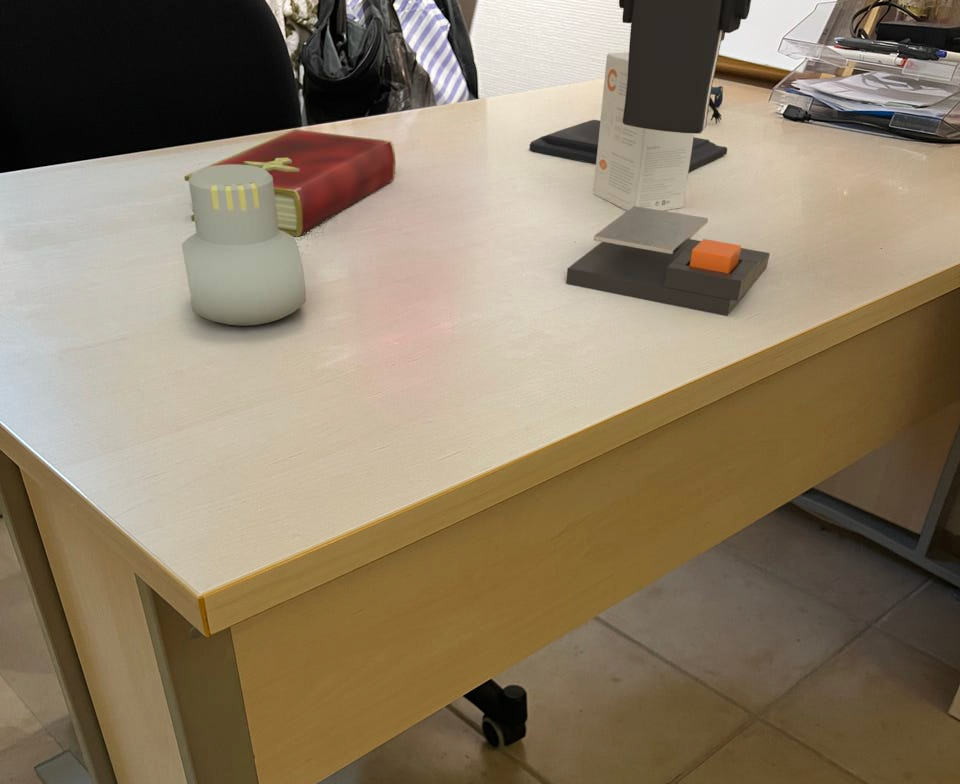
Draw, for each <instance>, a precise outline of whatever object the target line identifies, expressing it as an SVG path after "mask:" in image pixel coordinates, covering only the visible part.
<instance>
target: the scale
mask: <svg viewBox="0 0 960 784" xmlns="http://www.w3.org/2000/svg"><path fill="white" fill-rule="evenodd" d="M701 241H702V240H697V239H692V238H690V239H689V240H688V241H687V242H686V243H685V244H684V245H683V246H682V247H680V248H679V249H678V250H677V251H676V252H675V253H674V254H673V255H672V254H666V253H661V252H655V251H650V250H644V249H639V248H633V247H628V246H622V245H617V244H611V243H606V242H600V243H599V244H597V245H596V246H594V247H593V248H591V250H589V251H588V252H586V254H584V255H583V256H582V257H580V258H579V259H577V260H576V261H575V262H574V263H573V264H571V265H570V266H569V267H567V269H566V270H567V271H566V280H565V281H566V282H565V284H566V285H568V286H574V287H578V288H579V287H580V288H584V289H589V290H595V291H599V292H605V293H609V294H614V295H618V296H624V297H629V298H634V299H640V300H644V301H650V302H654V303H659V304H663V305H664V304H665V305H668V306H673V307H679V308H684V309H690V310H695V311H700V312H704V313H709V314H715V315H719V316H724V317H728V316H729V315H730V314H731V313H732V311H733V310H734V309H735V308H736V307H737V306H738V304H739V303H740V302H741V300H742V299H743V298H744V297H745V296H746V294H748V292H749V291H750V289H751V288H752V287H753V286H754V285H755V283H757V281H758V280H759V278H760V277H761V276H762V275H763V273H764V272H765V271H766V270H767V268H768V264H769V259H770V252H768V251H767V252H766V251H760V250H756V249H749V248H743V247H741V251H740V256H739V261H738V265H737V266H736V267H735V268H734V269H733V270H732V271H731V272H730V274H729V273H724V272H718V271H713V270H708V269H702V268H697V267H691V266H690V260H691V254H692V250H693V249H694V248H695V247H696V246H697V245H698V244H699V243H700V242H701Z"/></svg>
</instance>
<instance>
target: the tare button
mask: <svg viewBox="0 0 960 784" xmlns="http://www.w3.org/2000/svg"><path fill="white" fill-rule="evenodd" d="M700 241H701V242H700V243H699V244H698V245H697V246H696V247H695V248H694V249H693V250H692V254H691V260H690V266H691V267H697V268H702V269H708V270H713V271H718V272H724V273H729V274H730V272H731V271H732V270H733V269H734V268H735V267H736V266H737V265H738V261H739V256H740V251H741V248H742V245H741V244H735V243H730V242H723V241H717V240H712V239H706V238H703V239H702V240H700Z"/></svg>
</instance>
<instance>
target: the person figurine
mask: <svg viewBox="0 0 960 784" xmlns="http://www.w3.org/2000/svg"><path fill="white" fill-rule="evenodd" d="M713 95H714V100H713V99H712V96H713ZM723 95H724V87H723V86H722V85H720V86H713V85H712V89H711V95H710V102H709V108H710V109H711V110H712V112H713V113H712V115H711V118H710V121H713V119H714V120H715V124H718V123H721V122H720V121H722V115H721V113H720V112H719V110H718V108H720V106H721V105H722V104H723V99H724V96H723Z"/></svg>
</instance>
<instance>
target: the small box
mask: <svg viewBox="0 0 960 784" xmlns="http://www.w3.org/2000/svg"><path fill="white" fill-rule="evenodd" d="M628 60H629V51H627V52H609V53H607V54H606V61H605V71H604V79H603V80H604V81H603V90H602V101H601V111H600V119H599V120H600V130H599V140H598V150H597V160H596V164H595V170H594V171H595V172H594V180H593V181H594V182H593V189H592V193H593V195H595V196H597V197H599V198H601V199H603V200H604V201H607V202H609V203H610V204H613V205H614V206H617V207H619V208H621V209H623V210H624V211H626V212H627V211H628V210H629V209H631V208H632V207H633V206H637V207H643V208H649V209H655V210H661V211H670V210H677V209H682V208H684V204H685V197H686V191H687V183H688V177H689V172H690V171H689V165H690V158H691V151H692V145H693V138H694V137H695V134H690V133H676V132H666V131H658V130H651V129H644V128H638V127H634V126H629V125H625V124H623V114H624V106H625V97H626V89H627V78H628ZM688 171H689V172H688Z"/></svg>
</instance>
